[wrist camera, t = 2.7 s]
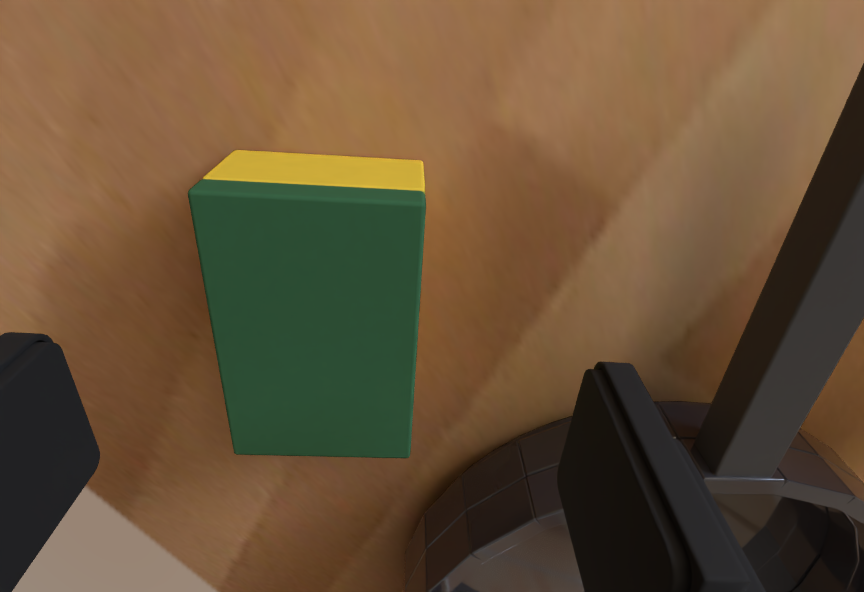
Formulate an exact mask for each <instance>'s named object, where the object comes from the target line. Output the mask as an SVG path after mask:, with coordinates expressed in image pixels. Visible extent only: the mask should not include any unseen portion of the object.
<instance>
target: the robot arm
mask: <svg viewBox="0 0 864 592" xmlns="http://www.w3.org/2000/svg"><path fill="white" fill-rule="evenodd" d="M99 459H100V451H99V447H98V445H97V442H96V439H95V437H94V434H93V431H92V429H91V426H90V423H89V421H88V418H87V415H86V413H85V410H84V407H83V405H82V402H81V399H80V396H79V394H78V391H77V388H76V386H75V383H74V380H73V378H72V375H71V372H70V370H69V367H68V364H67V362H66V359H65V356H64V353H63V351H62V349H61V347H60V346H59V345H58V344H56V343H53V341H52V339H51V338H50V337H49V336H47V335H44V334H34V333H14V332H10V333H4V334H3V335H1V336H0V592H12V590H13V589H14V588H15V586H16V585H17V583H18V582H19V580H20V579H21V577H22V576H23V575H24V573H25V572H26V570H27V569H28V567H29V566H30V564H31V563H32V562H33V560H34V559H35V557H36V556H37V554H38V553H39V551H40V550H41V549H42V547H43V546H44V544H45V543H46V541H47V540H48V539H49V537H50V536H51V534H52V533H53V531H54V530H55V528H56V527H57V526H58V524H59V523H60V521H61V520H62V518H63V517H64V515H65V514H66V512H67V511H68V509H69V508H70V507H71V505H72V504H73V502H74V501H75V500H76V498H77V497H78V495H79V494H80V492H81V491H82V489H83V488H84V487H85V485H86V484H87V482H88V481H89V479H90V478H91V477H92V475H93V474H94V472H95V470H96V469H97V466H98V464H99ZM557 486H558V491H559V495H560V499H561V503H562V507H563V510H564V514H565V518H566V522H567V526H568V530H569V534H570V537H571V541H572V545H573V549H574V553H575V557H576V561H577V565H578V568H579V572H580V576H581V580H582V584H583V588H584V592H766V591H765V589H764V587H763V586H762V584H761V582H760V580H759V578H758V577H757V575H756V573H755V571H754V570H753V568H752V566H751V564H750V562H749V561H748V559H747V557H746V555H745V553H744V552H743V550H742V548H741V546H740V545H739V543H738V541H737V539H736V537H735V536H734V534H733V532H732V530H731V529H730V527H729V525H728V523H727V521H726V520H725V518H724V516H723V514H722V512H721V511H720V509H719V507H718V505H717V504H716V502H715V500H714V498H713V496H712V495H711V493H710V491H709V489H708V487H707V486H706V484H705V482H704V480H703V479H702V477H701V475H700V473H699V471H698V470H697V468H696V466H695V464H694V462H693V461H692V459H691V457H690V455H689V454H688V452H687V450H686V449H685V447H684V446H683V445H682V443H681V442H679V441H678V440H676V439H673V437H672V436H671V434H670V432H669V430H668V428H667V426H666V425H665V423H664V421H663V419H662V417H661V415H660V414H659V412H658V410H657V408H656V406H655V404H654V403H653V401H652V399H651V397H650V395H649V393H648V392H647V390H646V388H645V386H644V384H643V382H642V381H641V379H640V377H639V375H638V373H637V371H636V370H635V368H634V367H633V365H632V364H630V363H615V362H598V363H597V364H596V365H595V367H594V369H588V370H586V371H585V373H584V376H583V380H582V383H581V387H580V391H579V394H578V398H577V401H576V405H575V409H574V412H573V416H572V419H571V423H570V427H569V430H568V434H567V437H566V441H565V445H564V448H563V452H562V456H561V459H560V463H559V466H558V471H557Z"/></svg>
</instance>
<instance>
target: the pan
mask: <svg viewBox="0 0 864 592" xmlns="http://www.w3.org/2000/svg"><path fill="white" fill-rule="evenodd" d="M653 403H654V404H655V406H656V408H657V410H658V412H659V414H660V415H661V417H662V419H663V421H664V423H665V425H666V426H667V428H668V430H669V432H670V434H671V436H672V437H673V439H676V440H678V441H679V442H681V443H682V445H683V446H684V447H685V449H686V450H687V452H688V454H689V455H690V457H691V459H692V461H693V462H694V464H695V466H696V468H697V470H698V471H699V473H700V475H701V477H702V479H703V480H704V482H705V484H706V486H707V487H708V489H709V491H710V493H711V495H712V496H713V498H714V500H715V502H716V504H717V505H718V507H719V509H720V511H721V512H722V514H723V516H724V518H725V520H726V521H727V523H728V525H729V527H730V529H731V530H732V532H733V534H734V536H735V537H736V539H737V541H738V543H739V545H740V546H741V548H742V550H743V552H744V553H745V555H746V557H747V559H748V561H749V562H750V564H751V566H752V568H753V570H754V571H755V573H756V575H757V577H758V578H759V580H760V582H761V584H762V586H763V587H764V589H765V591H766V592H864V483H863V482H862V481H861V480H860V479H859V477H858V476H857V475H856V474H855V473H854V472H853V471H852V470H851V469H850V468H849V467H848V466H847V464H846V463H845V462H844V461H843V460H842V459H841V458H840V457H839V456H838V455H837V454H836V452H835V451H834V450H833V449H832V448H830V447H829V446H827V445H826V444H824V443H823V442H821V441H819V440H818V439H816V438H815V437H813V436H812V435H810V434H808V433H807V432H805V431H804V430H802V429H799V431H798V432H797V434H796V436H795V437H794V439H793V441H792V443H791V444H790V446H789V448H788V450H787V451H786V453H785V455H784V456H783V458H782V460H781V462H780V463H779V465H778V467H777V469H776V470H775V472H774V474H773V475H772V477H738V476H716V475H714V474H713V473H712V471H711V470H710V468H709V466H708V465H707V463H706V462H705V460H704V458H703V457H702V455H701V454H700V452H699V450H698V449H697V447H696V446H695V444H694V442H695V439H696V437H697V435H698V433H699V430H700V428H701V426H702V424H703V421H704V419H705V417H706V415H707V412H708V410H709V408H710V406H711V404H710V403H698V402H686V401H662V402H653ZM571 419H572V416H571V417H567V418H564V419H561V420H558V421H555V422H551V423H549V424H546V425H544V426H542V427H539V428H537V429H535V430H532V431H530V432H528V433H525V434H523V435H521V436H519V437H517V438H515V439H513V440H511V441H510V442H508V443H506V444H504V445H502V446H500V447H499V448H497V449H495V450H493V451H492V452H491V453H489V454H488V455H486V456H485V457H483V458H482V459H480V460H479V461H478V462H476V463H475V464H473V465H472V466H471V467H469V468H468V469H467V470H466V471H465V472H464V473H463V474H462V475H460V476H459V477H458V478H457V479H456V480H455V481H454V482H453V483H452V484H451V485H450V486H449V487H448V488H447V489H446V491H445V492H444V493H443V494H442V495H441V496H440V497H439V498H438V499H437V500H436V501H435V502H434V503H433V504H432V505H431V506H430V507H429V508H428V510H427V511H426V512H425V513H424V515H423V517H422V519H421V521H420V523H419V525H418V527H417V529H416V531H415V533H414V535H413V537H412V539H411V541H410V543H409V545H408V547H407V549H406V552H405V567H404V583H403V592H584V588H583V584H582V580H581V576H580V572H579V568H578V565H577V561H576V557H575V553H574V549H573V545H572V541H571V537H570V534H569V530H568V526H567V522H566V518H565V514H564V510H563V507H562V503H561V499H560V495H559V491H558V486H557V471H558V466H559V463H560V459H561V456H562V452H563V448H564V445H565V441H566V437H567V434H568V430H569V427H570V423H571Z"/></svg>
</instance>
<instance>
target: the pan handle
mask: <svg viewBox="0 0 864 592" xmlns="http://www.w3.org/2000/svg"><path fill="white" fill-rule="evenodd" d="M863 318H864V63H863V66H862V68H861V70H860V72H859V75H858V77H857V79H856V81H855V84H854V86H853V88H852V90H851V93H850V95H849V97H848V99H847V102H846V104H845V106H844V108H843V110H842V113H841V115H840V117H839V119H838V122H837V124H836V126H835V128H834V131H833V133H832V135H831V137H830V140H829V142H828V144H827V146H826V148H825V151H824V153H823V155H822V157H821V160H820V162H819V164H818V166H817V169H816V171H815V173H814V175H813V178H812V180H811V182H810V184H809V187H808V189H807V191H806V193H805V195H804V198H803V200H802V202H801V204H800V207H799V209H798V211H797V213H796V216H795V218H794V220H793V222H792V225H791V227H790V229H789V231H788V233H787V236H786V238H785V240H784V242H783V245H782V247H781V249H780V251H779V254H778V256H777V258H776V260H775V263H774V265H773V267H772V269H771V272H770V274H769V276H768V278H767V280H766V283H765V285H764V287H763V289H762V292H761V294H760V296H759V298H758V301H757V303H756V305H755V307H754V310H753V312H752V314H751V316H750V319H749V321H748V323H747V325H746V327H745V330H744V332H743V334H742V336H741V339H740V341H739V343H738V345H737V348H736V350H735V352H734V354H733V357H732V359H731V361H730V363H729V365H728V368H727V370H726V372H725V374H724V377H723V379H722V381H721V383H720V386H719V388H718V390H717V392H716V395H715V397H714V399H713V401H712V404H711V406H710V408H709V410H708V412H707V415H706V417H705V419H704V421H703V424H702V426H701V428H700V430H699V433H698V435H697V437H696V439H695V442H694V444H695V446H696V447H697V449H698V450H699V452H700V454H701V455H702V457H703V458H704V460H705V462H706V463H707V465H708V466H709V468H710V470H711V471H712V473H713V474H714V475H716V476H738V477H772V475H773V474H774V472H775V470H776V469H777V467H778V465H779V463H780V462H781V460H782V458H783V456H784V455H785V453H786V451H787V450H788V448H789V446H790V444H791V443H792V441H793V439H794V437H795V436H796V434H797V432H798V431H799V429H800V427H801V425H802V424H803V422H804V420H805V418H806V417H807V415H808V413H809V412H810V410H811V408H812V406H813V405H814V403H815V401H816V400H817V398H818V396H819V394H820V393H821V391H822V389H823V387H824V386H825V384H826V382H827V381H828V379H829V377H830V375H831V374H832V372H833V370H834V368H835V367H836V365H837V363H838V362H839V360H840V358H841V356H842V355H843V353H844V351H845V349H846V348H847V346H848V344H849V343H850V341H851V339H852V337H853V336H854V334H855V332H856V330H857V329H858V327H859V325H860V324H861V322H862V320H863Z"/></svg>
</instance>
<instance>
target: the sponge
mask: <svg viewBox="0 0 864 592" xmlns="http://www.w3.org/2000/svg"><path fill="white" fill-rule="evenodd" d="M188 198H189V204H190V209H191V215H192V220H193V226H194V231H195V237H196V243H197V248H198V254H199V259H200V265H201V271H202V276H203V282H204V287H205V293H206V298H207V304H208V310H209V315H210V321H211V326H212V332H213V337H214V343H215V349H216V354H217V360H218V365H219V371H220V377H221V382H222V388H223V393H224V399H225V404H226V410H227V416H228V421H229V427H230V432H231V438H232V444H233V449H234V453H235V454H237V455H282V456H327V457H372V458H409V456H410V450H411V434H412V419H413V403H414V387H415V371H416V355H417V339H418V323H419V308H420V292H421V276H422V260H423V244H424V228H425V213H426V199H425V181H424V165H423V162H422V161H420V160H404V159H386V158H369V157H351V156H334V155H316V154H299V153H281V152H264V151H246V150H235V151H233V152H232V153H231V154H229V155H228V156H227V157H226V158H225V159H224V160H223V161H221V162H220V163H219V164H218V165H217V166H216V167H214V168H213V169H212V170H211V171H210V172H209V173H208V174H206V175H205V176H204V177H203V179H202V180H200V181H199V182H198V183H197V184H195V185H194V186H193V187H192V188H191V189H190V190H189V191H188Z"/></svg>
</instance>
